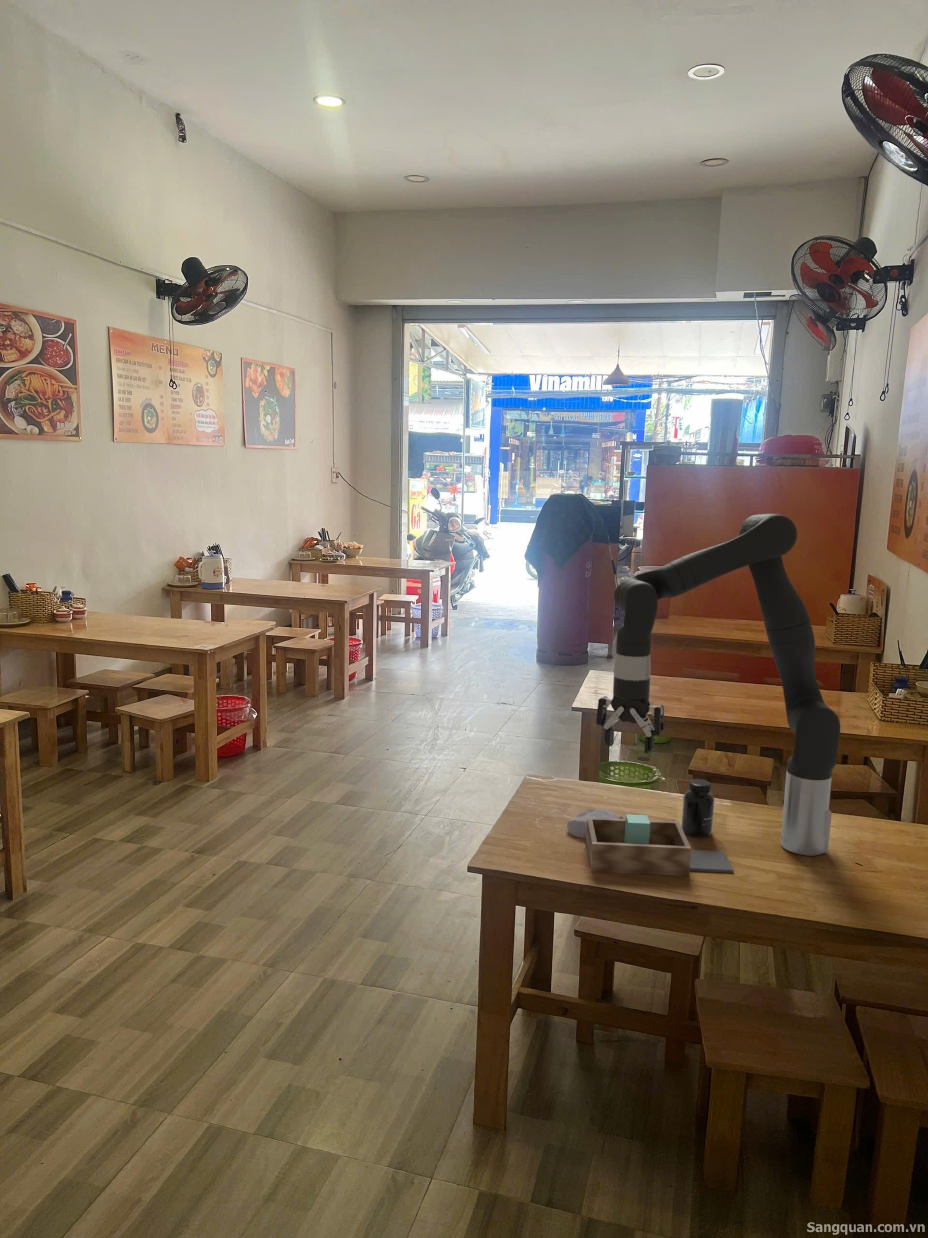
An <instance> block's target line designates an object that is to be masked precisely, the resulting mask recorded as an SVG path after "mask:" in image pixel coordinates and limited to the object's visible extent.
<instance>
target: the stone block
mask: <svg viewBox="0 0 928 1238" xmlns="http://www.w3.org/2000/svg"><path fill="white" fill-rule="evenodd" d="M587 817H589V818H611V819H624V816H623V815H619V814H617V813H615V812H612V811H610V810H607V809H602V808H599V809H596V808H593V809H590V808H589V809H585V810H584V811H583V812H582V811H581V812H580V813H579V814H577V815H576V816H575V817H573V818H572V819H569V820H568V821H567V826H566V827H567V831H568V833H569V835H573V836H575V837H577V838H582V839H586V833H587Z"/></svg>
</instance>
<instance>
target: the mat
mask: <svg viewBox="0 0 928 1238" xmlns="http://www.w3.org/2000/svg"><path fill="white" fill-rule="evenodd" d="M690 872H706V873H708V872H709V873H710V872H711V873H731V874H734V872H735V871H734V868H733V866H732V864H731V863H730V861H729V859H728V857H727V855H726V853H725V851H720V850H696V849H691V859H690Z"/></svg>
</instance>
